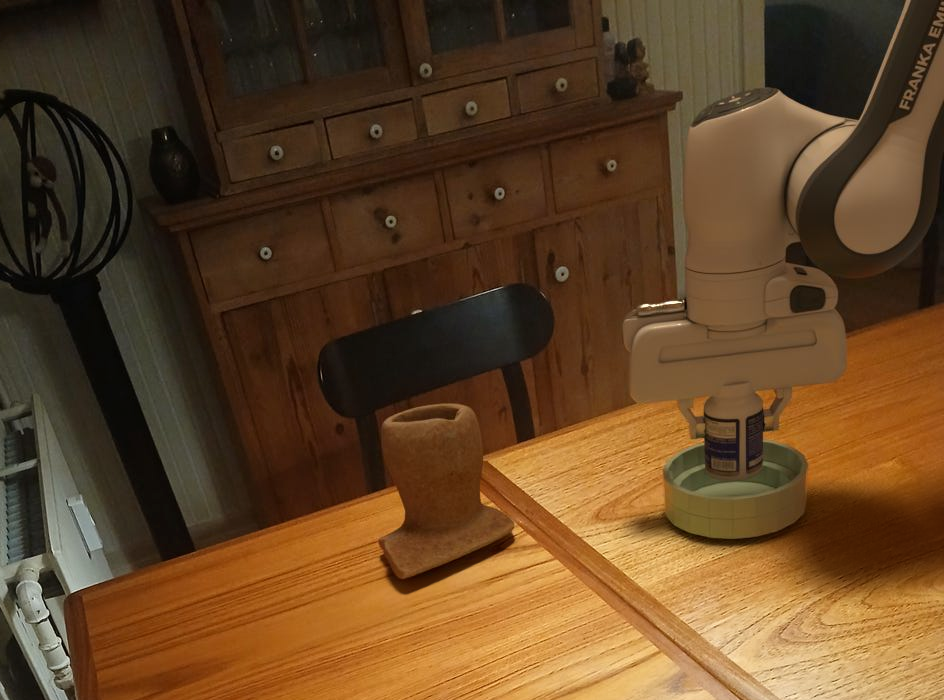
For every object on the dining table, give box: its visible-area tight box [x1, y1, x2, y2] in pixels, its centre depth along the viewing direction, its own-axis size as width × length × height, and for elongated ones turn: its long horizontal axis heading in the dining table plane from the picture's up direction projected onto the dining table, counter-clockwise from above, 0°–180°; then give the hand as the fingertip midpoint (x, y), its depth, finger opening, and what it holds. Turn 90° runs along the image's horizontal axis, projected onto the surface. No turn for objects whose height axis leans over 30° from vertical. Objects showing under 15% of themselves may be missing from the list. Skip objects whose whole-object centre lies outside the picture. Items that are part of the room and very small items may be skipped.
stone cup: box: [377, 403, 515, 580], centre depth 102 cm, size 15×12×15 cm
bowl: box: [662, 438, 809, 540], centre depth 102 cm, size 14×14×5 cm
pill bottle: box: [703, 382, 764, 481], centre depth 98 cm, size 6×6×10 cm
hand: (733, 432), depth 98 cm, fingers closed on pill bottle, 6 cm apart
